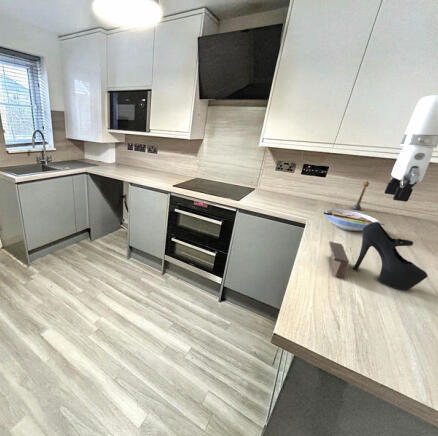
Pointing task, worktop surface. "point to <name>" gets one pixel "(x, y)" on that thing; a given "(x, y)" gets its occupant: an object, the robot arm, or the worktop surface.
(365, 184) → the wooden tabletop sculpture
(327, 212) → the ramen bowl
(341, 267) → the shoe rack rail
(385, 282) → the high-heeled shoe
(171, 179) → the worktop surface
